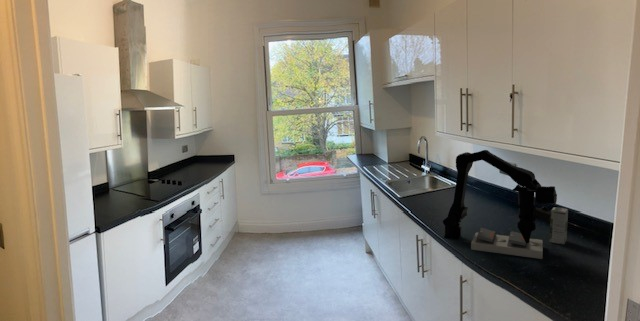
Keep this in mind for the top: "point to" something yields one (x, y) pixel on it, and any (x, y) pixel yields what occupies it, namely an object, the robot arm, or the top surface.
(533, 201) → the robot arm
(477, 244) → the double rocker switch panel
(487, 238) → the dark grey rectangular block
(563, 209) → the syrup box
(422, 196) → the top surface
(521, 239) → the right rocker
